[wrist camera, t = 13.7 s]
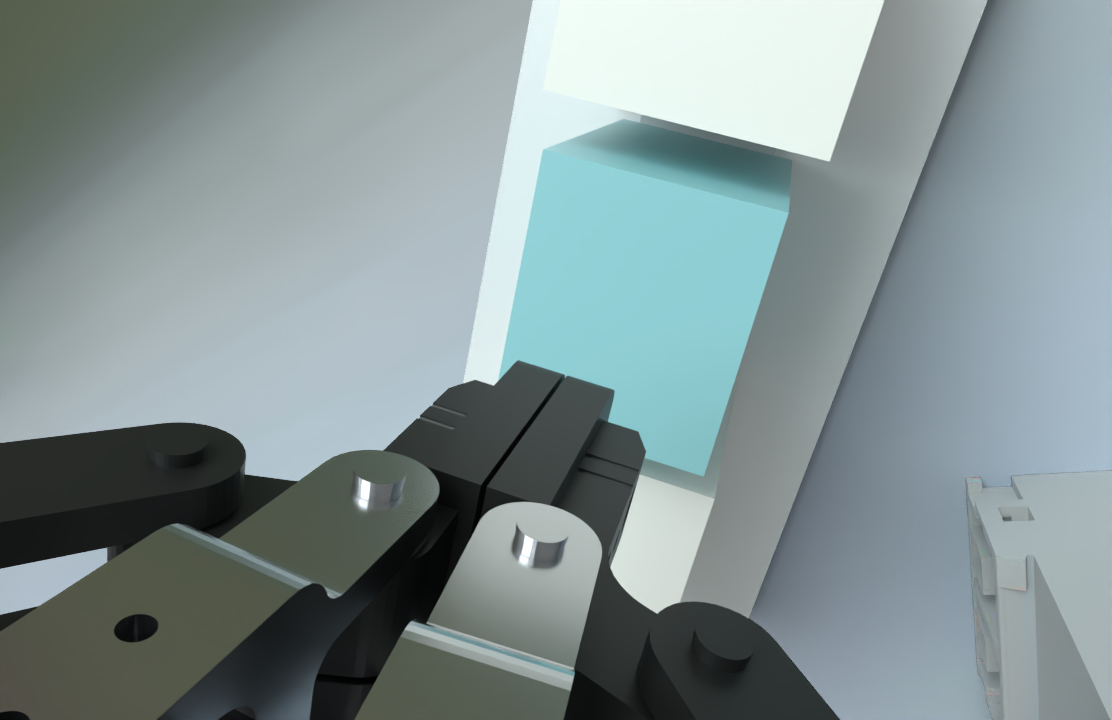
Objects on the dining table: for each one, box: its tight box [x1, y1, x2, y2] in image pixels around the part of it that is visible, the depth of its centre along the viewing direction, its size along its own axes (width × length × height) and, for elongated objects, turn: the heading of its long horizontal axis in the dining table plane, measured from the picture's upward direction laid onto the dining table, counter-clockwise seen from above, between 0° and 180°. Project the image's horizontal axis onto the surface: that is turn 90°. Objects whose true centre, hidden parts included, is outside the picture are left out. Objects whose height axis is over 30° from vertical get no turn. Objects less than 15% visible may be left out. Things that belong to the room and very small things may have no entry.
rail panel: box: [463, 0, 988, 618], centre depth 22 cm, size 26×12×9 cm, turn 168°
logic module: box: [498, 119, 792, 477], centre depth 21 cm, size 6×5×8 cm
